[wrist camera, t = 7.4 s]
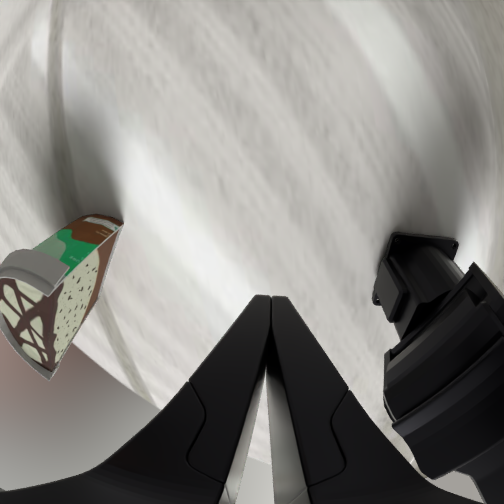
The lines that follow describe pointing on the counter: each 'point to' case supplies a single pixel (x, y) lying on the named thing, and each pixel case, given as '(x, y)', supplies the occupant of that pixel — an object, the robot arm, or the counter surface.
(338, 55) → the counter surface
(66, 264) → the food container
